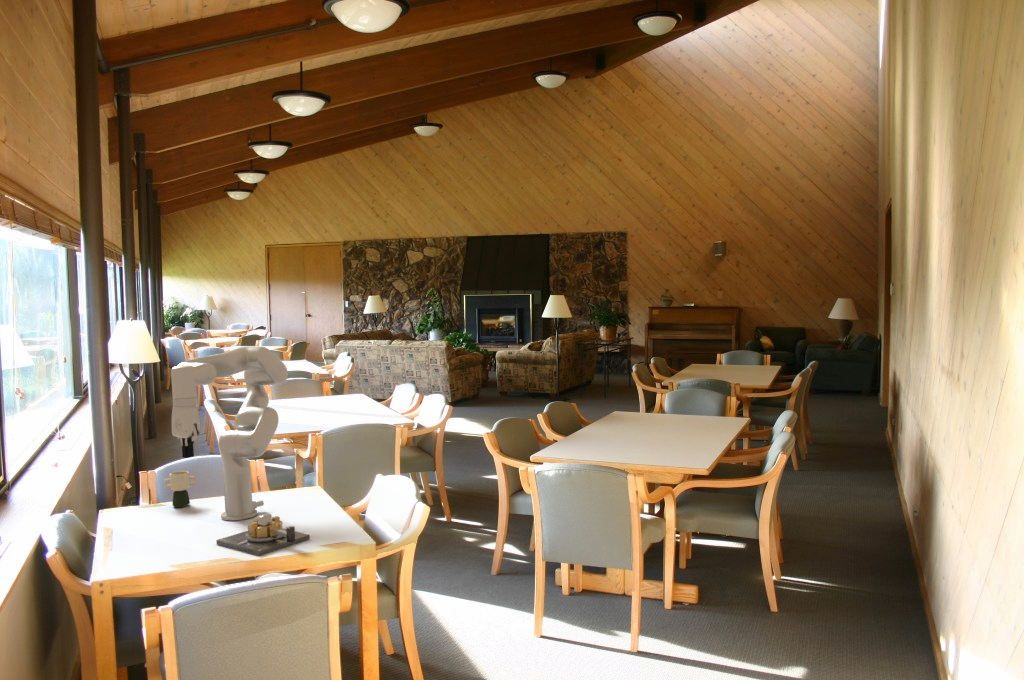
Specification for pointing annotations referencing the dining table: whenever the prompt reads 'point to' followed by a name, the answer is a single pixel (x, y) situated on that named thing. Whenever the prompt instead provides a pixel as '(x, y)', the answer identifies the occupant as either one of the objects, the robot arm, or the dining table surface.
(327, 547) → the dining table surface
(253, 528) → the knobbed lever handle
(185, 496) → the character mug
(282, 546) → the base plate
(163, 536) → the dining table surface
